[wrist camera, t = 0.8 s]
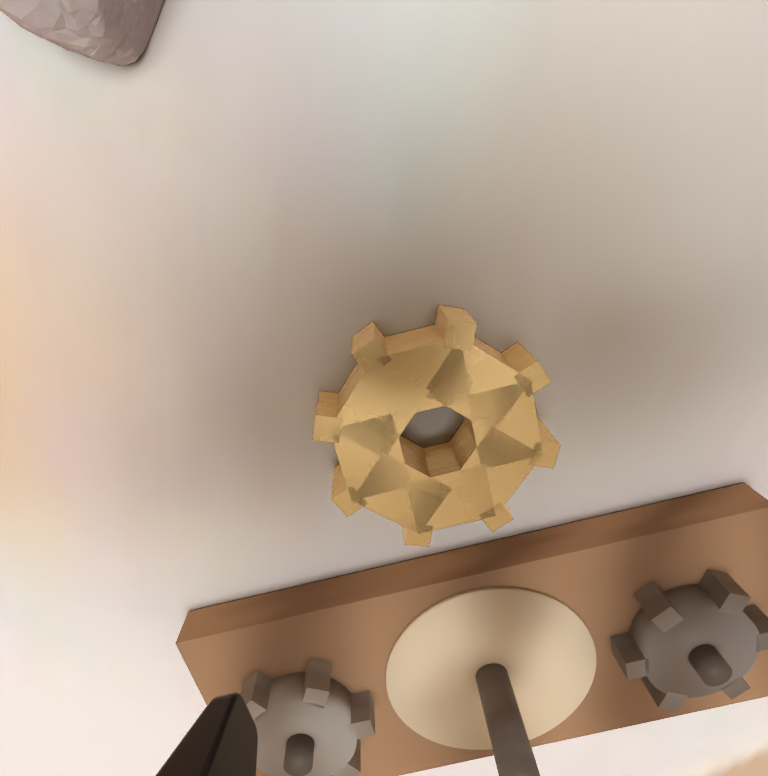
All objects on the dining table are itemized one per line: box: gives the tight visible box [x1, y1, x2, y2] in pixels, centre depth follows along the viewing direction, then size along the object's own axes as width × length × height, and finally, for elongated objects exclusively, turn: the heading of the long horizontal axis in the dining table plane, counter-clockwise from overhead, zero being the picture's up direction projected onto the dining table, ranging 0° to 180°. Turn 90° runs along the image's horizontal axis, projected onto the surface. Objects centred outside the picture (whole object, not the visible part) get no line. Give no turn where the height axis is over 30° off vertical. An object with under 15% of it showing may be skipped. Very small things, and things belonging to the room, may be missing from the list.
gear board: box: [176, 483, 768, 776], centre depth 18 cm, size 21×9×6 cm, turn 104°
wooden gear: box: [312, 305, 560, 547], centre depth 17 cm, size 7×7×2 cm
